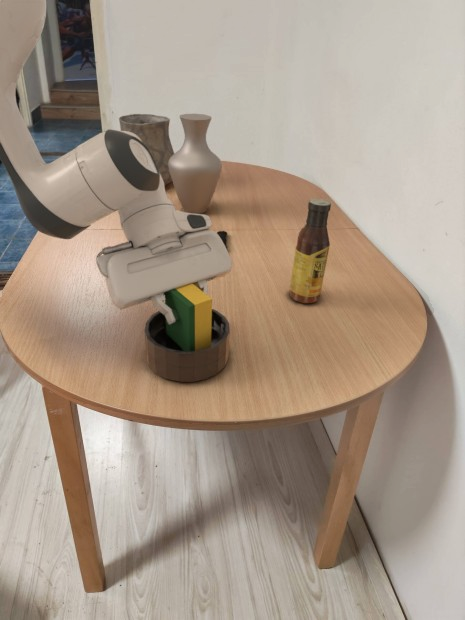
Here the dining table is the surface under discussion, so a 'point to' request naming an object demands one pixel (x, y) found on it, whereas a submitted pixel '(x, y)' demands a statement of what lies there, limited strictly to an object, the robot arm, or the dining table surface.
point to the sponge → (190, 317)
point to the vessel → (152, 138)
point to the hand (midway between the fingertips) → (190, 316)
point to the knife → (223, 236)
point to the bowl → (186, 364)
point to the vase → (195, 166)
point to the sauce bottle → (311, 254)
